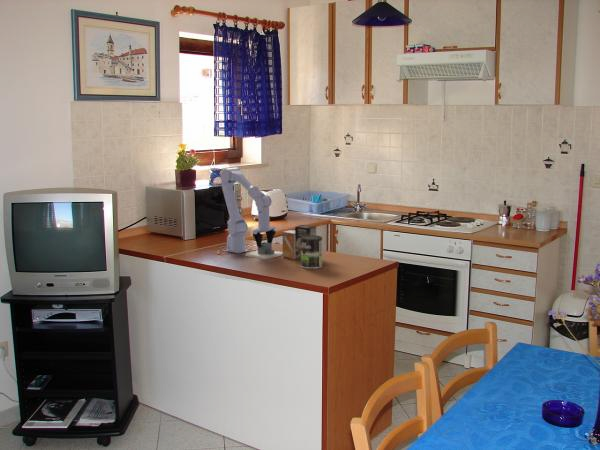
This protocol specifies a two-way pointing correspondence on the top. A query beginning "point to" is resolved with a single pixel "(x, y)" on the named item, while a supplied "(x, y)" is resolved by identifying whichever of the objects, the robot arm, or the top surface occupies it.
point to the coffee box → (302, 231)
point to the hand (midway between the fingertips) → (264, 246)
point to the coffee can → (311, 252)
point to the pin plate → (263, 255)
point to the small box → (289, 244)
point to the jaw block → (266, 249)
